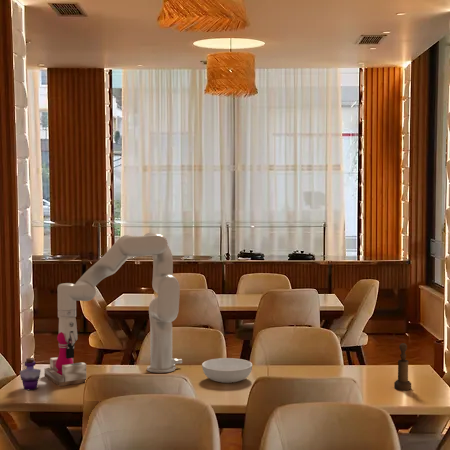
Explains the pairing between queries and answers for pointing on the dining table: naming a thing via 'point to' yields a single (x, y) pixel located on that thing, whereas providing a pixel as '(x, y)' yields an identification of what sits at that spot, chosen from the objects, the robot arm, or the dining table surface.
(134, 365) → the dining table surface
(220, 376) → the serving bowl
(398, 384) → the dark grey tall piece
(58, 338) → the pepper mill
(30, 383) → the potion bottle
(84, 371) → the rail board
